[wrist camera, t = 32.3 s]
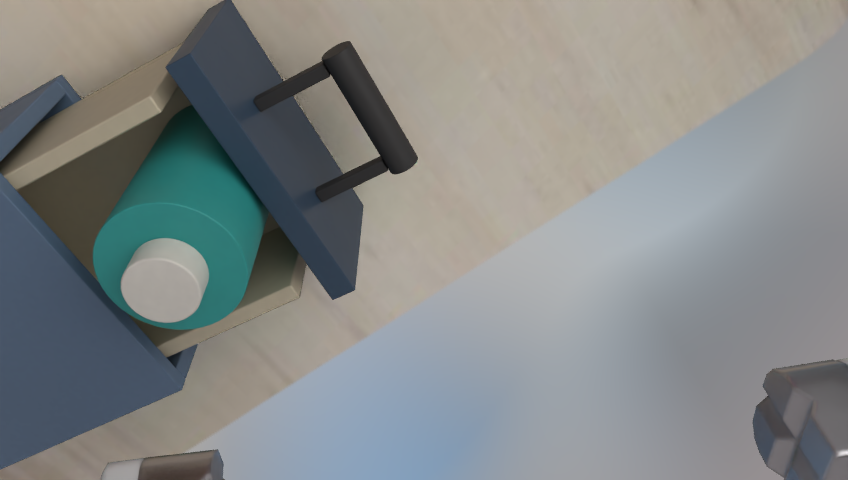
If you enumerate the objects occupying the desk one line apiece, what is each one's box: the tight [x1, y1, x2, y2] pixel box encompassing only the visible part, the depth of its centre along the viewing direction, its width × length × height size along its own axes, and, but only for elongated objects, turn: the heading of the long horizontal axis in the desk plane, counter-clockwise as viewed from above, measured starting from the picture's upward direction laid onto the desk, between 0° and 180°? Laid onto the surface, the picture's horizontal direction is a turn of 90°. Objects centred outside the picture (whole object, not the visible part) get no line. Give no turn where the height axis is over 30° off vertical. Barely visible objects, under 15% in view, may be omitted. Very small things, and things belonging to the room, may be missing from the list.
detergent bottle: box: [93, 105, 269, 330], centre depth 35 cm, size 6×6×12 cm
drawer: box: [0, 0, 418, 358], centre depth 38 cm, size 20×12×8 cm, turn 118°
